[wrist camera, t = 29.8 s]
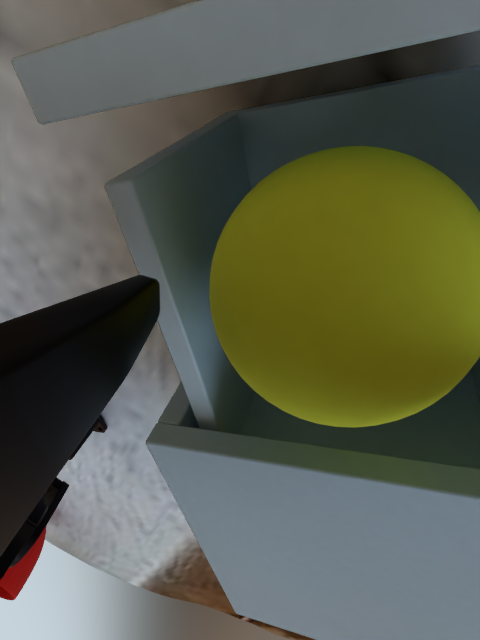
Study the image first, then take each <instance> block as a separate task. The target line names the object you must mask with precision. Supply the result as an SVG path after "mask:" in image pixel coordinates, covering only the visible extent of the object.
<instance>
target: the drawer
mask: <svg viewBox="0 0 480 640" xmlns="http://www.w3.org/2000/svg"><path fill="white" fill-rule="evenodd" d="M475 31H480V0H197V1H194V2H191V3H187V4H184V5H181V6H178V7H175V8H171V9H168V10H165V11H162V12H159V13H155V14H152V15H149V16H146V17H142V18H139V19H136V20H133V21H130V22H126V23H123V24H120V25H117V26H114V27H110V28H107V29H104V30H101V31H98V32H94V33H91V34H88V35H85V36H82V37H78V38H75V39H72V40H69V41H66V42H62V43H59V44H56V45H53V46H50V47H46V48H43V49H40V50H37V51H33V52H30V53H27V54H24V55H21V56H17V57H14V58H13V59H12V60H11V61H12V64H13V67H14V69H15V71H16V73H17V76H18V78H19V80H20V82H21V85H22V87H23V89H24V91H25V93H26V96H27V98H28V100H29V102H30V105H31V107H32V109H33V111H34V114H35V116H36V118H37V120H38V122H39V123H40V124H48V123H52V122H57V121H62V120H66V119H71V118H76V117H80V116H85V115H90V114H94V113H99V112H103V111H108V110H113V109H117V108H122V107H127V106H131V105H136V104H141V103H145V102H150V101H155V100H159V99H164V98H169V97H173V96H178V95H182V94H187V93H192V92H196V91H201V90H206V89H210V88H215V87H220V86H224V85H229V84H234V83H238V82H243V81H248V80H252V79H257V78H261V77H266V76H271V75H275V74H280V73H285V72H289V71H294V70H299V69H303V68H308V67H313V66H317V65H322V64H327V63H331V62H336V61H340V60H345V59H350V58H354V57H359V56H364V55H368V54H373V53H378V52H382V51H387V50H392V49H396V48H401V47H406V46H410V45H415V44H419V43H424V42H429V41H433V40H438V39H443V38H447V37H452V36H457V35H461V34H466V33H471V32H475ZM343 146H370V147H380V148H385V149H390V150H395V151H398V152H401V153H404V154H407V155H410V156H413V157H415V158H417V159H420V160H422V161H424V162H426V163H428V164H430V165H431V166H433V167H435V168H436V169H438V170H439V171H441V172H442V173H444V174H445V175H446V176H448V177H449V178H450V179H451V180H452V181H454V182H455V183H456V184H457V185H458V186H459V187H460V188H461V189H462V190H463V191H464V192H465V193H466V194H467V195H468V197H469V198H470V199H471V200H472V201H473V203H474V204H475V206H476V207H477V209H478V210H479V211H480V65H478V66H473V67H467V68H462V69H457V70H451V71H446V72H441V73H435V74H430V75H425V76H419V77H414V78H409V79H403V80H398V81H393V82H387V83H382V84H376V85H371V86H366V87H360V88H355V89H350V90H344V91H339V92H334V93H328V94H323V95H318V96H312V97H307V98H302V99H296V100H291V101H285V102H280V103H275V104H269V105H264V106H259V107H253V108H248V109H243V110H237V111H232V112H227V113H224V114H223V115H221V116H219V117H218V118H216V119H215V120H213V121H211V122H210V123H208V124H206V125H204V126H203V127H201V128H199V129H198V130H196V131H194V132H193V133H191V134H189V135H187V136H186V137H184V138H182V139H181V140H179V141H177V142H175V143H174V144H172V145H170V146H169V147H167V148H165V149H163V150H162V151H160V152H158V153H157V154H155V155H153V156H151V157H150V158H148V159H146V160H145V161H143V162H141V163H139V164H138V165H136V166H134V167H133V168H131V169H129V170H127V171H126V172H124V173H122V174H121V175H119V176H117V177H115V178H114V179H112V180H110V181H109V182H107V183H106V184H105V189H106V192H107V194H108V197H109V199H110V202H111V204H112V207H113V209H114V212H115V214H116V217H117V220H118V222H119V225H120V227H121V230H122V232H123V235H124V237H125V240H126V242H127V245H128V247H129V250H130V252H131V255H132V258H133V260H134V263H135V265H136V268H137V270H138V273H139V275H144V276H148V277H151V278H154V279H157V280H158V282H159V285H160V313H159V317H158V319H157V321H158V323H159V326H160V328H161V331H162V334H163V336H164V339H165V341H166V344H167V346H168V349H169V351H170V354H171V356H172V359H173V361H174V364H175V366H176V369H177V372H178V374H179V377H180V379H181V382H182V384H183V387H184V389H185V392H186V394H187V397H188V399H189V402H190V404H191V407H192V410H193V412H194V415H195V417H196V420H197V422H198V425H199V427H200V429H206V430H213V431H220V432H227V433H233V434H240V435H247V436H254V437H261V438H268V439H275V440H282V441H289V442H296V443H303V444H310V445H317V446H324V447H331V448H338V449H345V450H352V451H359V452H366V453H373V454H380V455H387V456H394V457H401V458H408V459H415V460H422V461H429V462H436V463H443V464H450V465H457V466H464V467H471V468H478V469H480V357H479V358H478V360H477V361H476V363H475V364H474V365H473V367H472V368H471V369H470V371H469V372H468V373H467V374H466V376H465V377H464V378H463V379H462V380H461V381H460V382H459V383H458V384H457V385H456V386H455V387H454V388H453V389H452V390H451V391H450V392H449V393H447V394H446V395H445V396H443V397H442V398H441V399H439V400H438V401H436V402H435V403H434V404H432V405H430V406H429V407H427V408H425V409H423V410H421V411H419V412H418V413H416V414H413V415H410V416H408V417H405V418H402V419H400V420H397V421H393V422H389V423H384V424H380V425H376V426H366V427H356V428H354V427H334V426H328V425H322V424H317V423H314V422H310V421H307V420H304V419H300V418H298V417H296V416H293V415H291V414H289V413H287V412H285V411H282V410H281V409H279V408H278V407H276V406H274V405H273V404H271V403H270V402H268V401H266V400H265V399H264V398H263V397H262V396H260V395H259V394H258V393H257V392H255V391H254V390H253V389H252V388H251V387H250V386H249V385H248V384H247V383H246V382H245V381H244V380H243V379H242V378H241V376H240V375H239V374H238V372H237V371H236V370H235V368H234V367H233V365H232V364H231V363H230V361H229V359H228V357H227V356H226V354H225V352H224V350H223V348H222V346H221V344H220V341H219V339H218V336H217V334H216V331H215V327H214V323H213V319H212V315H211V307H210V298H209V291H210V272H211V266H212V259H213V256H214V252H215V249H216V246H217V242H218V240H219V238H220V235H221V233H222V231H223V229H224V226H225V225H226V223H227V221H228V220H229V218H230V216H231V215H232V213H233V212H234V210H235V209H236V207H237V206H238V205H239V204H240V202H241V201H242V200H243V199H244V197H245V196H246V195H247V194H248V193H249V192H250V191H251V190H252V189H253V188H254V187H255V186H256V185H257V184H258V183H259V182H260V181H262V180H263V179H264V178H265V177H267V176H268V175H269V174H271V173H272V172H273V171H275V170H277V169H279V168H280V167H282V166H284V165H285V164H287V163H289V162H291V161H294V160H296V159H298V158H301V157H303V156H305V155H308V154H311V153H315V152H318V151H321V150H325V149H331V148H337V147H343Z"/></svg>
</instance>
